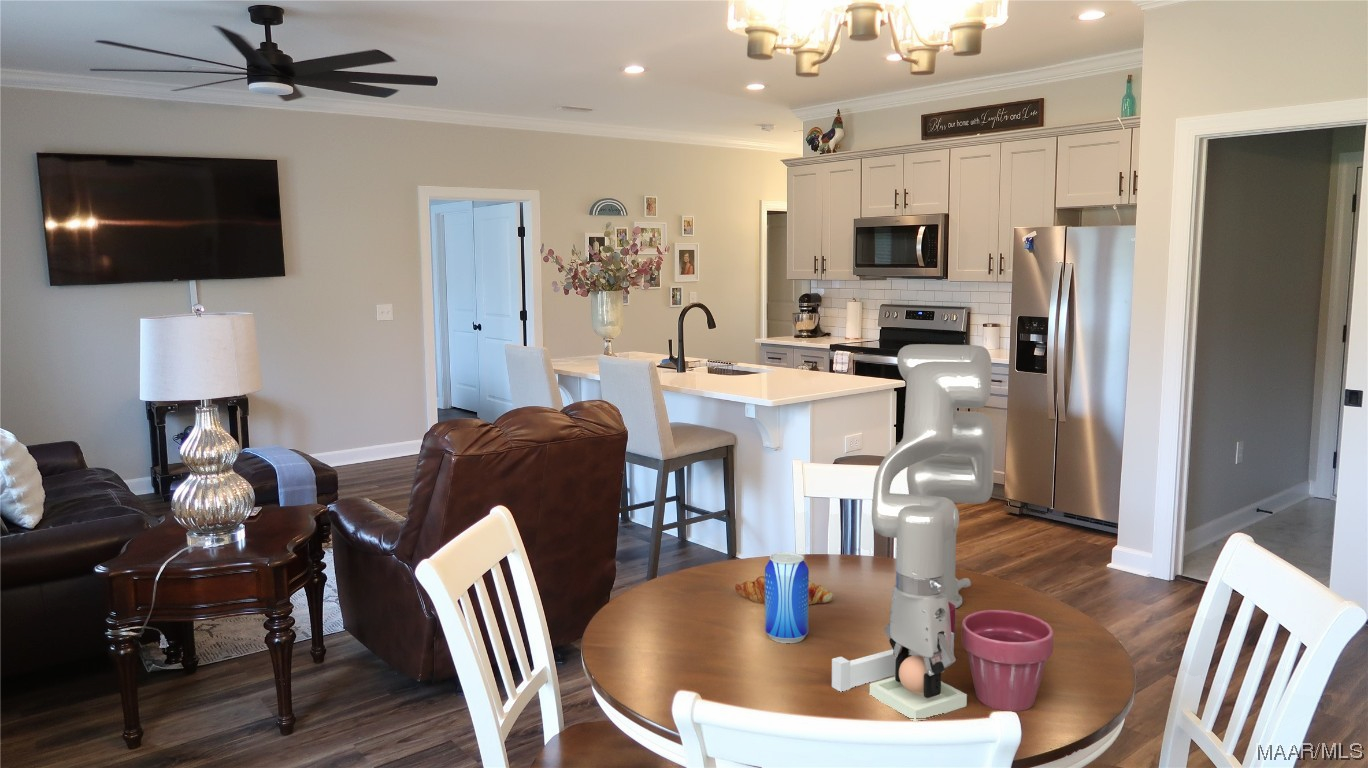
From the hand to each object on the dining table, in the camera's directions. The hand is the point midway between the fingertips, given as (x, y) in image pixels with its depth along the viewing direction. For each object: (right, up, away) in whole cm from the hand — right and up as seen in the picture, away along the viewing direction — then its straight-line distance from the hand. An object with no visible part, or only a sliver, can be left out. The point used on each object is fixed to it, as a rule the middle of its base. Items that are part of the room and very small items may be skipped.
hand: (917, 686), depth 151 cm
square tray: (0, -2, 0) cm, 2 cm away
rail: (-1, -1, +11) cm, 11 cm away
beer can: (-19, 0, +28) cm, 33 cm away
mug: (+10, 0, +24) cm, 26 cm away
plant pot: (+15, -2, +1) cm, 15 cm away
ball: (0, -1, 0) cm, 1 cm away
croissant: (-17, +3, +47) cm, 50 cm away
